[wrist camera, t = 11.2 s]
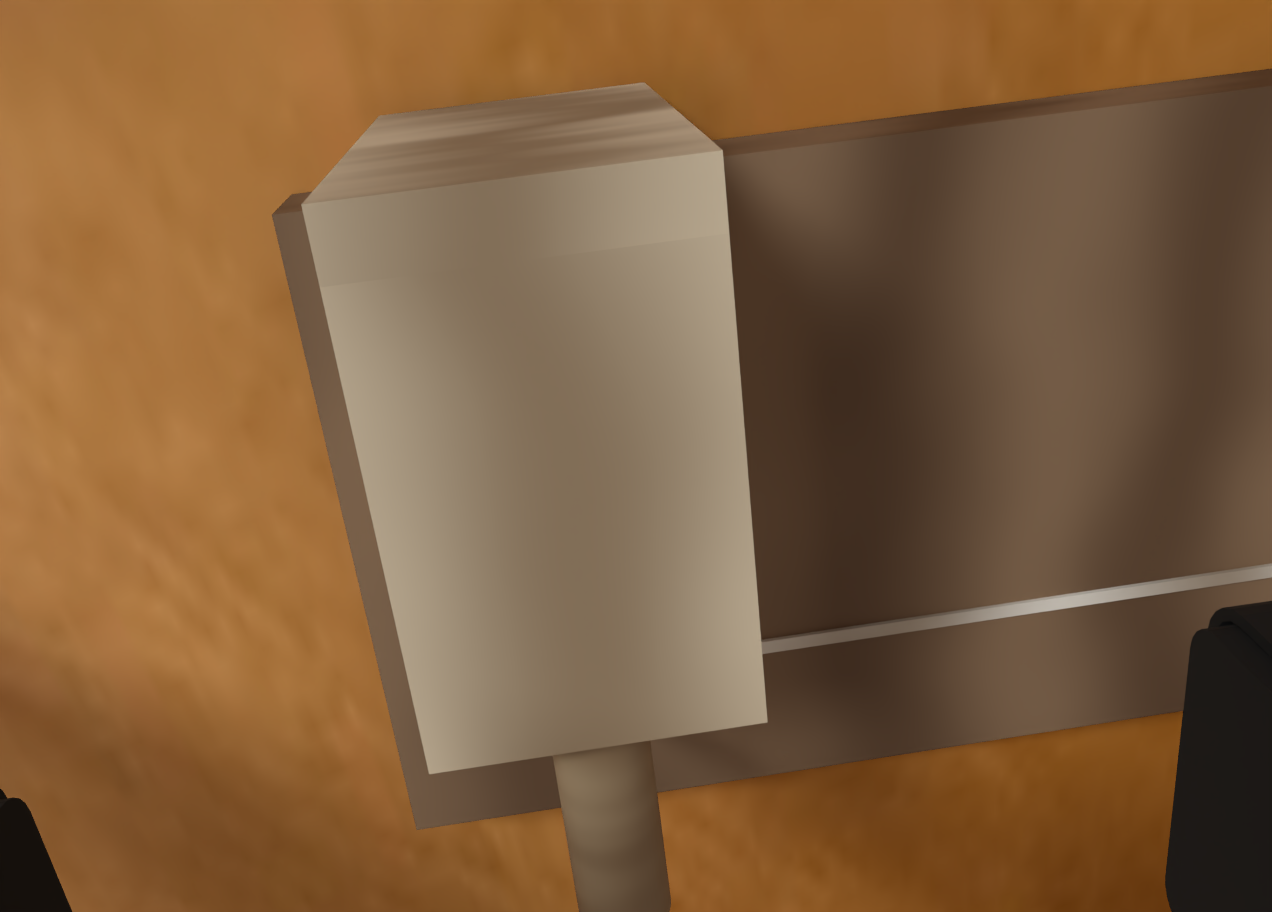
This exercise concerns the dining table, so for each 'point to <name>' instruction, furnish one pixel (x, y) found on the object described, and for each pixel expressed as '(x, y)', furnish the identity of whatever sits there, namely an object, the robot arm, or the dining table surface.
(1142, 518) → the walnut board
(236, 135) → the dining table surface
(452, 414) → the block
